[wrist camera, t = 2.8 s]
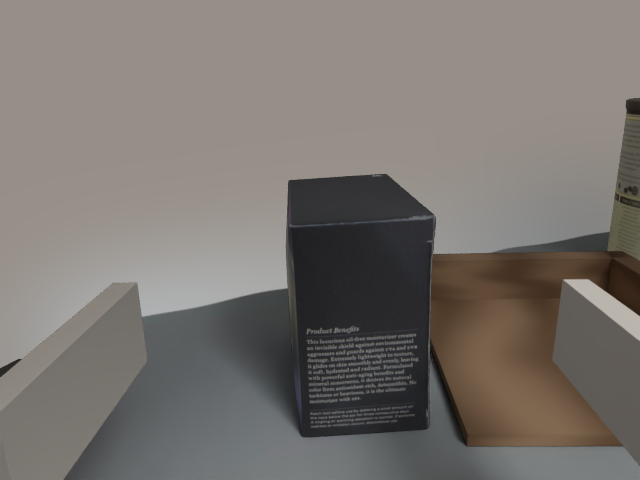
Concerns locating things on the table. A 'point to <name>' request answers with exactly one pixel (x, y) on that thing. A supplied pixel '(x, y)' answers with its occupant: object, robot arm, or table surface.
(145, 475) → the table surface
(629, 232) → the coffee can
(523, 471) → the table surface
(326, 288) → the small box
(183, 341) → the table surface
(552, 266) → the corner tray
